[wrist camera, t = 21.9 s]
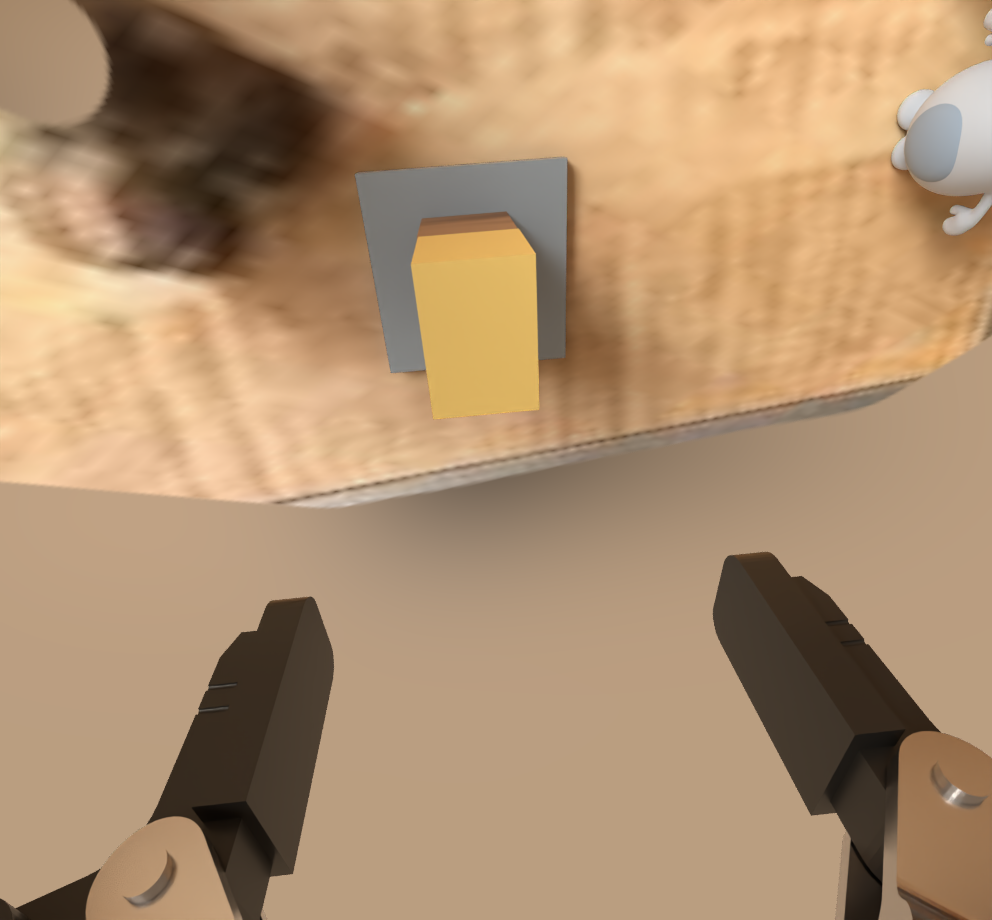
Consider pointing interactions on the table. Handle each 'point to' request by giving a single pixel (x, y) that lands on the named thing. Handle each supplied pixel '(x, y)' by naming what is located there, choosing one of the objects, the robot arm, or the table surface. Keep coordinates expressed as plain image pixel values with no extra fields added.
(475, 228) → the walnut brick
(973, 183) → the toy figure
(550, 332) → the slate baseplate
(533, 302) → the mustard brick
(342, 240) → the table surface
